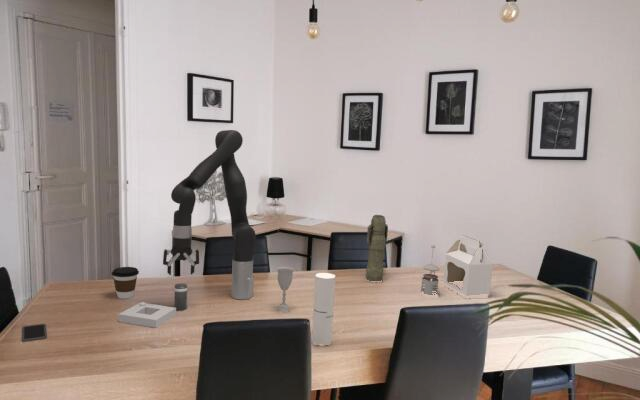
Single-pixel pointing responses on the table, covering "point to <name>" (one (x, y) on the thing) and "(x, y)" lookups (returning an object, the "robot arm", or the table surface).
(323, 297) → the cylindrical container
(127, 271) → the coffee cup
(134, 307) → the plate
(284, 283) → the chalice
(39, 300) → the table surface
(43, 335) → the cell phone
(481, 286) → the gable box
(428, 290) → the french press
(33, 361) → the table surface
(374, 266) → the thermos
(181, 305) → the lens
